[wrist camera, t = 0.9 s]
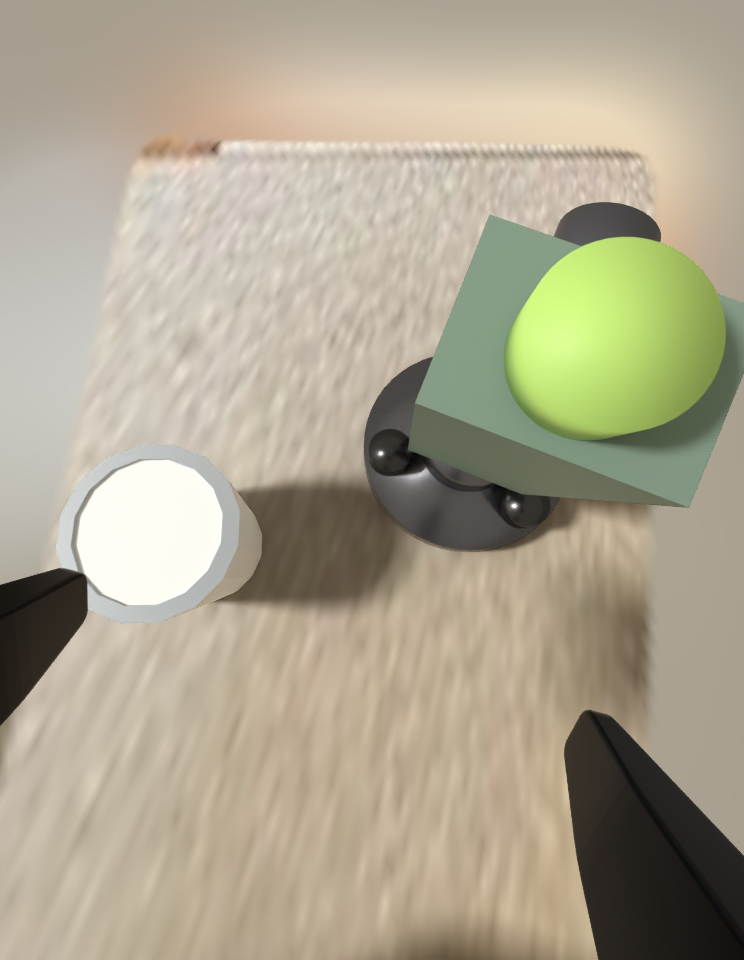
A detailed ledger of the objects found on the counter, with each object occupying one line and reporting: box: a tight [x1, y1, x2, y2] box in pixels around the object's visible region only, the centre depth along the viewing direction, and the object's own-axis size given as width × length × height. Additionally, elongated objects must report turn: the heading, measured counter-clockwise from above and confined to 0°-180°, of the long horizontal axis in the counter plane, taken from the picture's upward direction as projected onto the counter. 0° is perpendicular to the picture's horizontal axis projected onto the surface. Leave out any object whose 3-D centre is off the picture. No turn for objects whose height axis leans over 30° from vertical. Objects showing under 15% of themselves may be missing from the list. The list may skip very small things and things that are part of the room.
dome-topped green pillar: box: [408, 202, 744, 508], centre depth 15 cm, size 6×6×15 cm
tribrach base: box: [364, 357, 560, 552], centre depth 24 cm, size 11×11×3 cm
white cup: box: [56, 445, 262, 624], centre depth 20 cm, size 7×7×7 cm
